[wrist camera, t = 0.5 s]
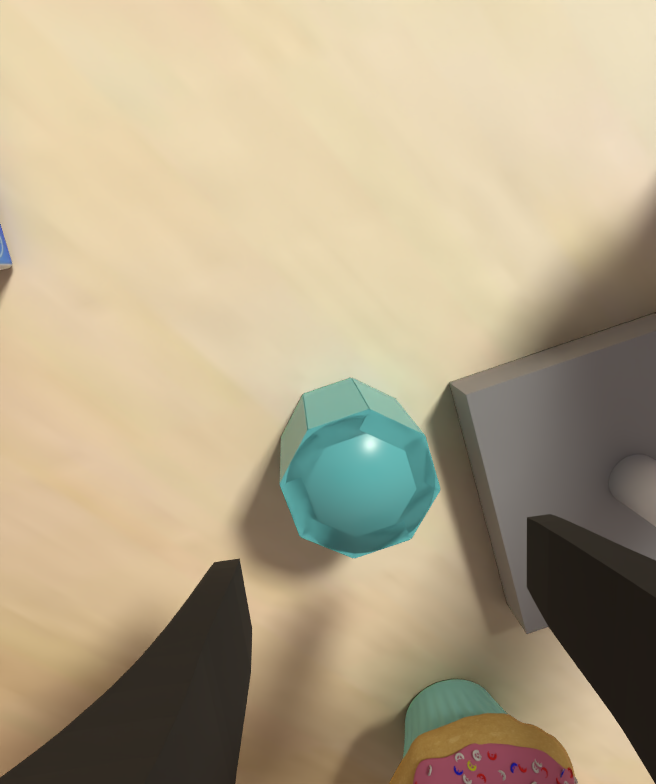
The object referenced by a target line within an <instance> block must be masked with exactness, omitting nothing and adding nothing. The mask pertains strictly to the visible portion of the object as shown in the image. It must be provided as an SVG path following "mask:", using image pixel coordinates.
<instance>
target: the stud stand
mask: <svg viewBox="0 0 656 784" xmlns="http://www.w3.org/2000/svg"><path fill="white" fill-rule="evenodd" d="M449 384H450V387H451V391H452V395H453V399H454V403H455V407H456V410H457V414H458V418H459V422H460V426H461V429H462V433H463V437H464V441H465V445H466V449H467V452H468V456H469V460H470V464H471V468H472V471H473V475H474V479H475V483H476V487H477V491H478V494H479V498H480V502H481V506H482V510H483V513H484V517H485V521H486V525H487V529H488V533H489V536H490V540H491V544H492V548H493V552H494V556H495V559H496V563H497V567H498V571H499V575H500V578H501V582H502V586H503V590H504V594H505V598H506V601H507V605H508V606H509V608H510V609H511V611H512V612H513V614H514V615H515V617H516V618H517V620H518V621H519V623H520V625H521V626H522V628H523V629H524V631H525V632H526V634H529V633H531V632H534V631H537V630H540V629H543V628H546V627H549V626H548V625H547V623H546V622H545V620H544V618H543V616H542V615H541V613H540V611H539V609H538V608H537V606H536V604H535V602H534V600H533V598H532V596H531V594H530V592H529V591H528V589H527V517H533V516H539V515H546V514H552V515H555V516H558V517H560V518H563V519H565V520H567V521H570V522H572V523H574V524H576V525H578V526H581V527H583V528H585V529H587V530H589V531H591V532H594V533H596V534H598V535H600V536H602V537H604V538H607V539H609V540H611V541H613V542H615V543H617V544H620V545H622V546H624V547H626V548H628V549H631V550H633V551H635V552H637V553H640V554H642V555H644V556H647V557H649V558H651V559H654V560H656V313H653V314H650V315H647V316H644V317H641V318H638V319H636V320H633V321H630V322H627V323H624V324H621V325H618V326H615V327H612V328H609V329H606V330H603V331H600V332H597V333H594V334H591V335H588V336H585V337H582V338H579V339H576V340H573V341H570V342H567V343H565V344H562V345H559V346H556V347H553V348H550V349H547V350H544V351H541V352H538V353H535V354H532V355H529V356H526V357H523V358H520V359H517V360H514V361H511V362H508V363H505V364H502V365H499V366H496V367H494V368H491V369H488V370H485V371H482V372H479V373H476V374H473V375H470V376H467V377H464V378H461V379H458V380H455V381H452V382H449Z"/></svg>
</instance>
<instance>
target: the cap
mask: <svg viewBox="0 0 656 784" xmlns="http://www.w3.org/2000/svg"><path fill="white" fill-rule="evenodd" d="M280 487H281V490H282V492H283V495H284V497H285V500H286V502H287V505H288V508H289V510H290V513H291V515H292V518H293V520H294V523H295V525H296V528H297V531H298V533H299V536H301V538H304V539H306V540H309V541H311V542H314V543H316V544H319V545H321V546H324V547H326V548H329V549H331V550H334V551H336V552H339V553H341V554H344V555H346V556H349V557H351V558H357V557H360V556H363V555H366V554H369V553H372V552H375V551H378V550H381V549H384V548H387V547H390V546H393V545H396V544H399V543H402V542H405V541H408V540H410V539H411V538H412V537H413V535H414V533H415V532H416V530H417V528H418V527H419V525H420V523H421V522H422V520H423V518H424V517H425V515H426V513H427V512H428V510H429V508H430V507H431V505H432V503H433V502H434V500H435V498H436V497H437V495H438V493H439V492H440V485H439V482H438V478H437V475H436V471H435V468H434V464H433V461H432V457H431V454H430V450H429V447H428V443H427V440H426V436H425V435H424V433H423V432H422V431H421V430H420V428H419V427H418V426H417V425H416V424H415V422H414V421H413V420H412V419H411V417H410V416H409V415H408V414H407V412H406V411H405V410H404V409H403V408H402V406H401V405H400V404H399V403H398V401H397V400H396V399H395V398H393V397H391V396H389V395H387V394H385V393H383V392H381V391H379V390H376V389H374V388H372V387H370V386H368V385H366V384H364V383H362V382H360V381H358V380H356V379H354V378H352V379H351V378H348V379H345V380H342V381H339V382H336V383H334V384H331V385H328V386H325V387H322V388H319V389H316V390H313V391H310V392H307V393H304V395H303V394H302V396H301V398H300V400H299V402H298V404H297V406H296V408H295V410H294V412H293V414H292V416H291V418H290V420H289V422H288V424H287V426H286V428H285V430H284V432H283V434H282V436H281V450H280Z"/></svg>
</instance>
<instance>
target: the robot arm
mask: <svg viewBox="0 0 656 784" xmlns="http://www.w3.org/2000/svg"><path fill="white" fill-rule="evenodd" d="M527 589H528V591H529V592H530V594H531V596H532V598H533V600H534V602H535V604H536V606H537V608H538V609H539V611H540V613H541V615H542V616H543V618H544V620H545V622H546V623H547V625H548V626H549V628H550V629H551V631H552V632H553V634H554V635H555V636H556V638H557V639H558V640H559V642H560V643H561V645H562V646H563V647H564V649H565V650H566V652H567V653H568V654H569V656H570V657H571V658H572V660H573V661H574V663H575V664H576V665H577V667H578V668H579V669H580V671H581V672H582V674H583V675H584V676H585V678H586V679H587V680H588V682H589V683H590V684H591V686H592V687H593V689H594V690H595V691H596V693H597V694H598V695H599V697H600V698H601V699H602V701H603V702H604V704H605V705H606V706H607V708H608V709H609V710H610V712H611V713H612V715H613V716H614V718H615V719H616V721H617V722H618V724H619V725H620V727H621V728H622V730H623V731H624V733H625V734H626V736H627V738H628V739H629V741H630V743H631V744H632V746H633V748H634V749H635V751H636V752H637V754H638V756H639V757H640V759H641V761H642V762H643V764H644V766H645V767H646V769H647V771H648V772H649V774H650V776H651V777H652V779H653V781H654V782H655V784H656V560H654V559H651V558H649V557H647V556H644V555H642V554H640V553H637V552H635V551H633V550H631V549H628V548H626V547H624V546H622V545H620V544H617V543H615V542H613V541H611V540H609V539H607V538H604V537H602V536H600V535H598V534H596V533H594V532H591V531H589V530H587V529H585V528H583V527H581V526H578V525H576V524H574V523H572V522H570V521H567V520H565V519H563V518H560V517H558V516H555V515H552V514H546V515H539V516H533V517H527ZM251 655H252V625H251V620H250V614H249V609H248V603H247V598H246V592H245V587H244V581H243V576H242V570H241V564H240V559H234V560H227V561H220V562H214V563H213V565H212V566H211V567H210V568H209V570H208V571H207V573H206V574H205V575H204V577H203V578H202V580H201V581H200V582H199V584H198V585H197V587H196V588H195V589H194V591H193V592H192V594H191V595H190V596H189V598H188V599H187V600H186V602H185V603H184V604H183V606H182V607H181V608H180V610H179V611H178V612H177V614H176V615H175V616H174V617H173V619H172V620H171V621H170V623H169V624H168V625H167V626H166V628H165V629H164V630H163V631H162V632H161V634H160V635H159V636H158V637H157V638H156V640H155V641H154V642H153V643H152V644H151V645H150V647H149V648H148V649H147V650H146V651H145V653H144V654H143V655H142V656H141V657H140V658H139V659H138V660H137V661H136V662H135V663H134V665H133V666H132V667H131V668H130V669H129V670H128V671H127V672H126V673H125V674H124V675H123V676H122V677H121V678H120V679H119V680H118V681H117V682H116V683H115V684H114V685H113V686H112V687H111V688H110V689H108V690H107V691H106V692H105V693H104V694H103V695H102V696H101V697H100V698H99V699H98V700H96V701H95V702H94V703H93V704H92V705H91V706H90V707H88V708H87V709H86V710H85V711H84V712H83V713H82V714H80V715H79V716H78V717H77V718H76V719H75V720H74V721H72V722H71V723H70V724H69V725H68V726H67V727H66V728H64V729H63V730H62V731H61V732H59V733H58V734H57V735H56V736H55V737H53V738H52V739H51V740H49V741H48V742H47V743H46V744H44V745H43V746H42V747H41V748H39V749H38V750H37V751H35V752H34V753H33V754H31V755H30V756H29V757H27V758H26V759H25V760H23V761H22V762H21V763H19V764H18V765H17V766H15V767H14V768H13V769H11V770H10V771H9V772H7V773H6V774H4V775H3V776H2V777H0V784H235V781H236V772H237V765H238V758H239V751H240V745H241V738H242V731H243V724H244V717H245V710H246V703H247V696H248V689H249V682H250V674H251Z"/></svg>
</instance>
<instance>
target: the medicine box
mask: <svg viewBox="0 0 656 784" xmlns="http://www.w3.org/2000/svg"><path fill="white" fill-rule="evenodd" d="M11 266H12V261H11V258H10V254H9V251H8V248H7V244H6V241H5V238H4V235H3V231H2V228H1V224H0V270H3V269H9V268H10V267H11Z"/></svg>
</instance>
